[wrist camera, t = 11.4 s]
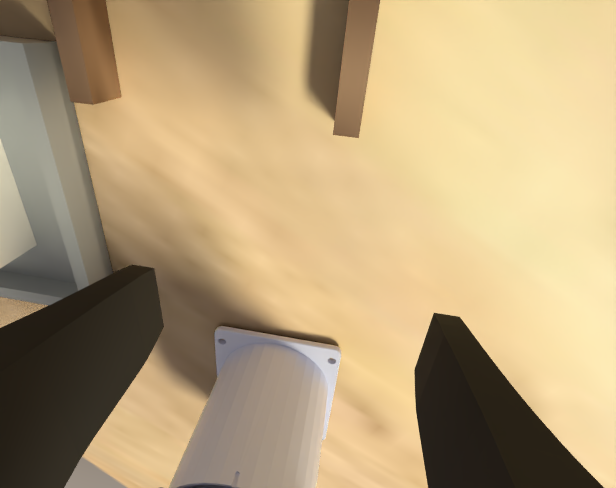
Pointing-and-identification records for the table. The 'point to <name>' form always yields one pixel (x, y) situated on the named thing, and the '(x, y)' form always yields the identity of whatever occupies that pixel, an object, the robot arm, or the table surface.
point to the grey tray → (48, 177)
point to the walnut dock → (103, 72)
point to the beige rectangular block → (12, 217)
